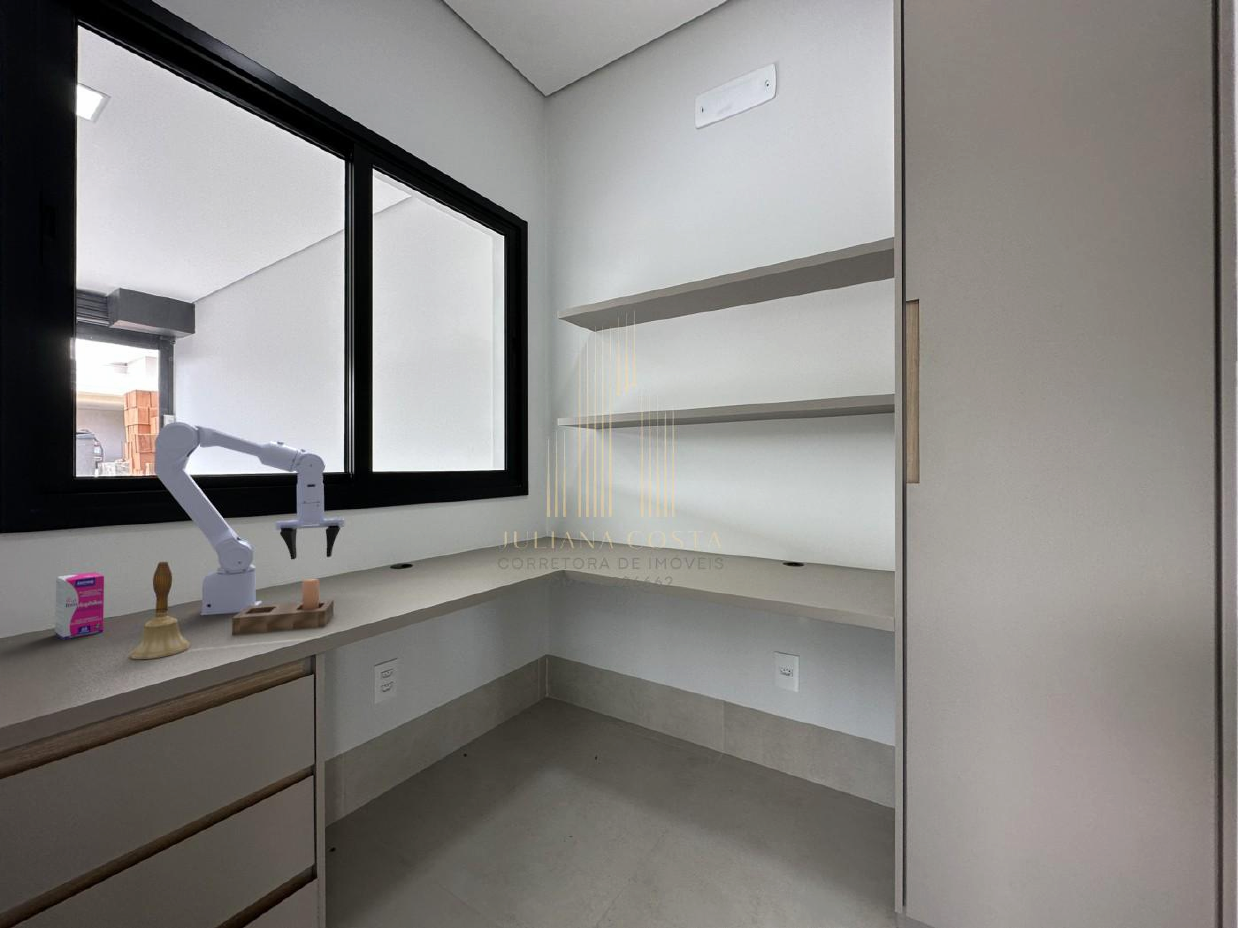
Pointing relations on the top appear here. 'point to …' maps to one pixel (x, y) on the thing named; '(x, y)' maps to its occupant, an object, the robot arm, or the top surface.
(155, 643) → the hand bell
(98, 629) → the supplement box
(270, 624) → the hole block
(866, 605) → the top surface
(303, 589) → the peg
